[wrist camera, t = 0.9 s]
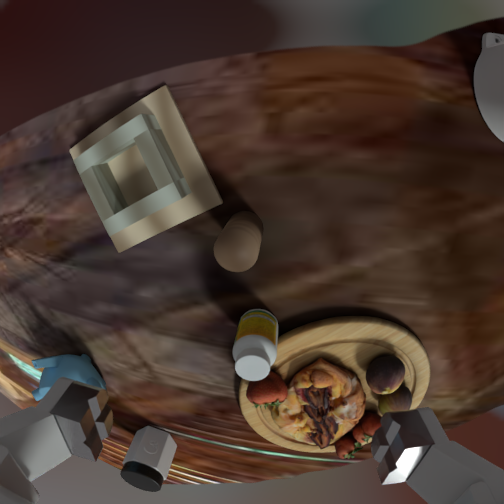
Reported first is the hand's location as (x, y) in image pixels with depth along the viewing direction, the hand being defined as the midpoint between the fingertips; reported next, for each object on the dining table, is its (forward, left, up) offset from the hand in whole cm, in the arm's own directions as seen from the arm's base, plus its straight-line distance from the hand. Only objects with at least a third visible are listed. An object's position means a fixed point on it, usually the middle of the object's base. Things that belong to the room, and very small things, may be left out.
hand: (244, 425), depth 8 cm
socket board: (+14, -10, -31) cm, 36 cm away
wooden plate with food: (+3, +33, -32) cm, 46 cm away
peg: (+5, +2, -31) cm, 32 cm away
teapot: (+45, +14, -32) cm, 56 cm away
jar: (+41, +35, -32) cm, 62 cm away
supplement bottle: (+9, +15, -32) cm, 36 cm away
